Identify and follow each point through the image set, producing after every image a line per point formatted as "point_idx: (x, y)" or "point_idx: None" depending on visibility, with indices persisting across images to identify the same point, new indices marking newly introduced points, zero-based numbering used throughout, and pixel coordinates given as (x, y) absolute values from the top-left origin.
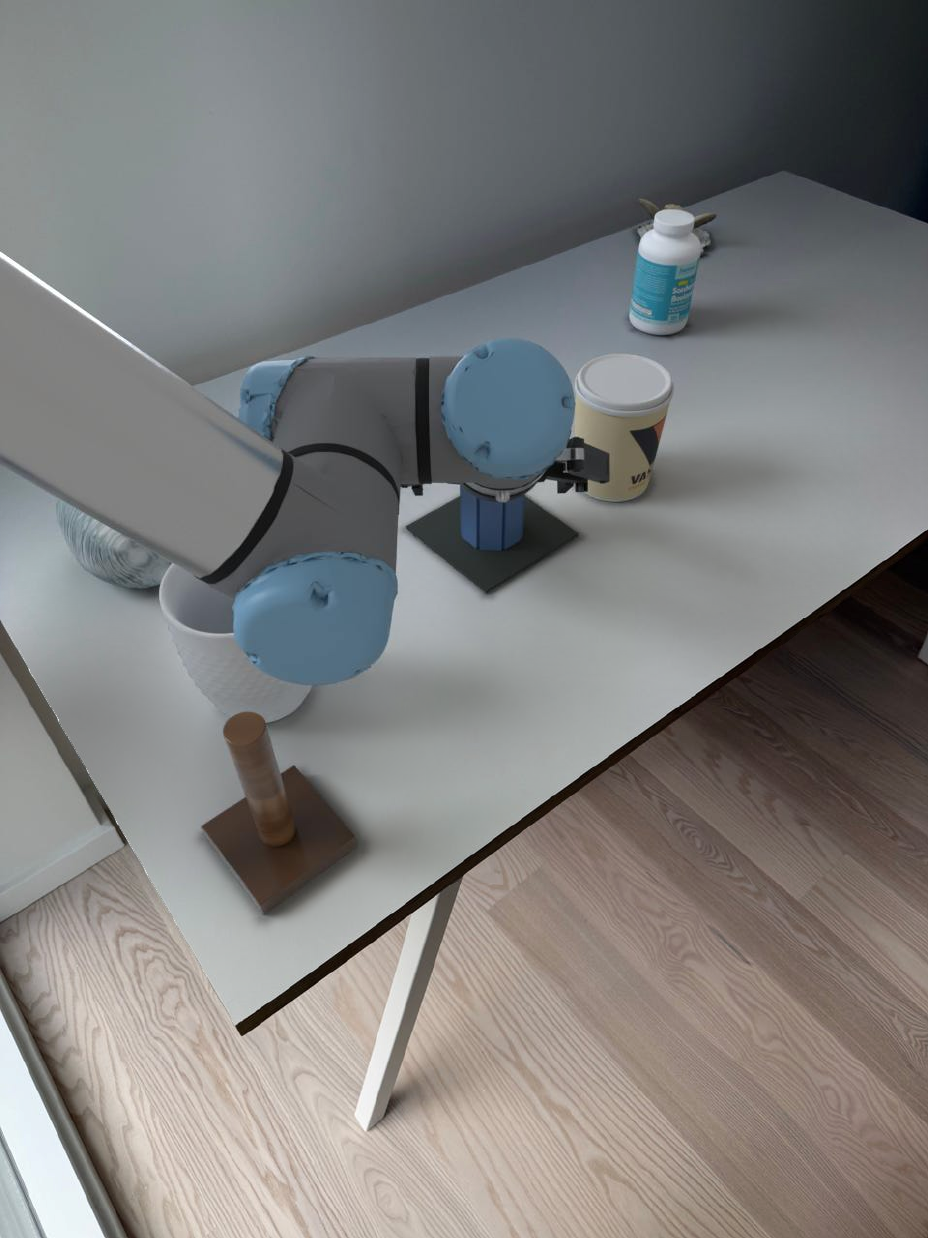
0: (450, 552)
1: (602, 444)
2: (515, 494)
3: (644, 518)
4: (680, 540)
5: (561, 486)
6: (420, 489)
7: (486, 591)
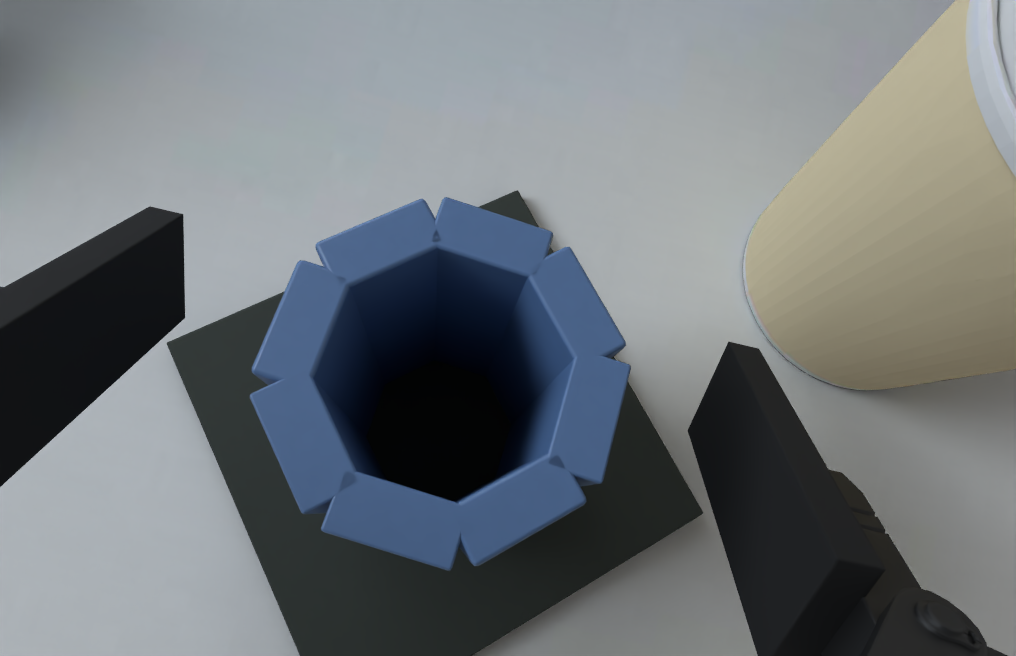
0: (272, 508)
1: (943, 311)
2: None
3: (906, 479)
4: (993, 605)
5: (725, 524)
6: (27, 461)
7: None
